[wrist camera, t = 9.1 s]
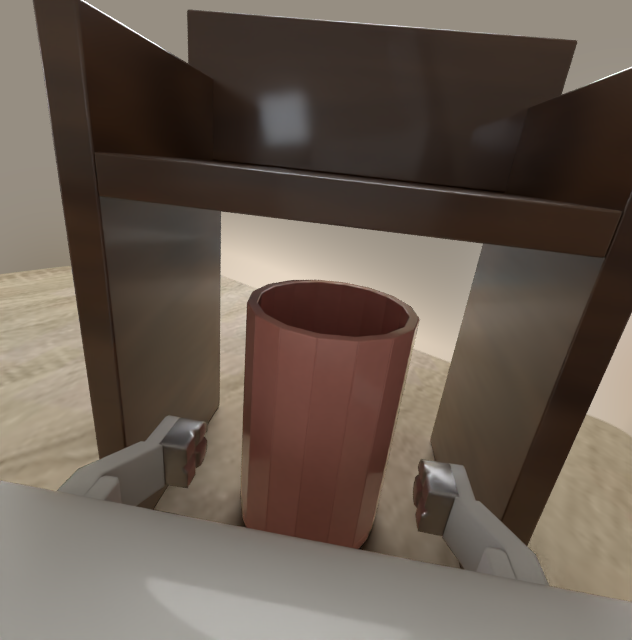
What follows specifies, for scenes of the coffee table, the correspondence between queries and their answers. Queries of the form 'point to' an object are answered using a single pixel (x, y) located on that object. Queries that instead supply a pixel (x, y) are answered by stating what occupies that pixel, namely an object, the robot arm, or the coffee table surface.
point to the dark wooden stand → (346, 210)
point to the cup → (321, 406)
